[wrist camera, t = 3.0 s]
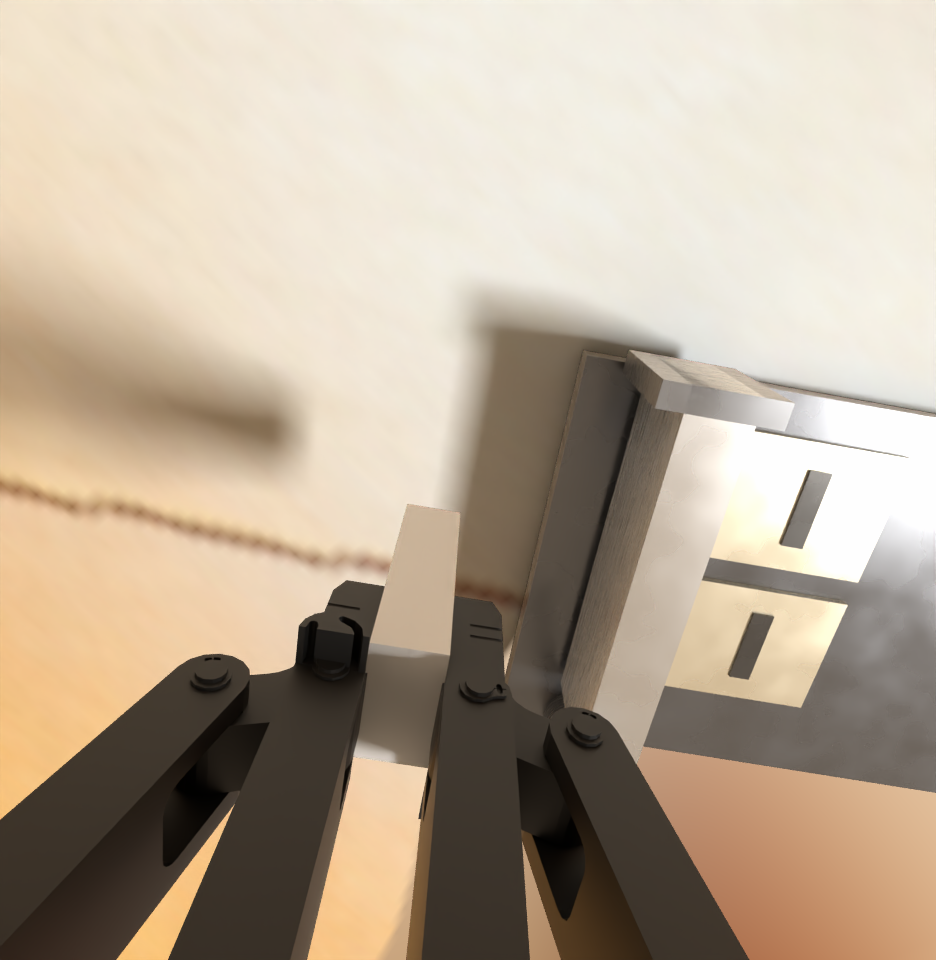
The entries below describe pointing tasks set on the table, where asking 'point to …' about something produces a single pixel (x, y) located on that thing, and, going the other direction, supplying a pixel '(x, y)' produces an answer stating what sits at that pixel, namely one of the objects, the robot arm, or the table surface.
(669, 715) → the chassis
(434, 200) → the table surface
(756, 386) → the brushed metal block
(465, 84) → the table surface
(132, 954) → the table surface
